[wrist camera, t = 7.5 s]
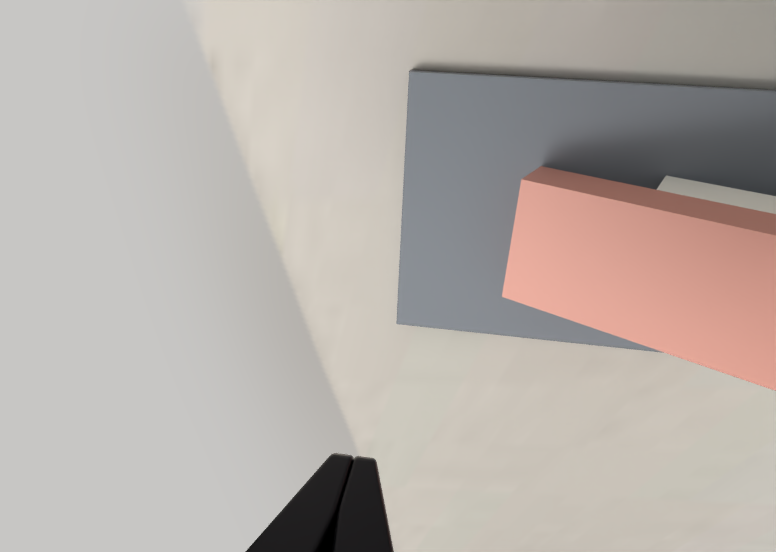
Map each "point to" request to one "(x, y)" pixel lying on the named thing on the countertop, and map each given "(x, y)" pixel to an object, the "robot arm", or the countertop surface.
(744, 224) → the domino
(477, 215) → the slate mat
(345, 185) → the countertop surface
